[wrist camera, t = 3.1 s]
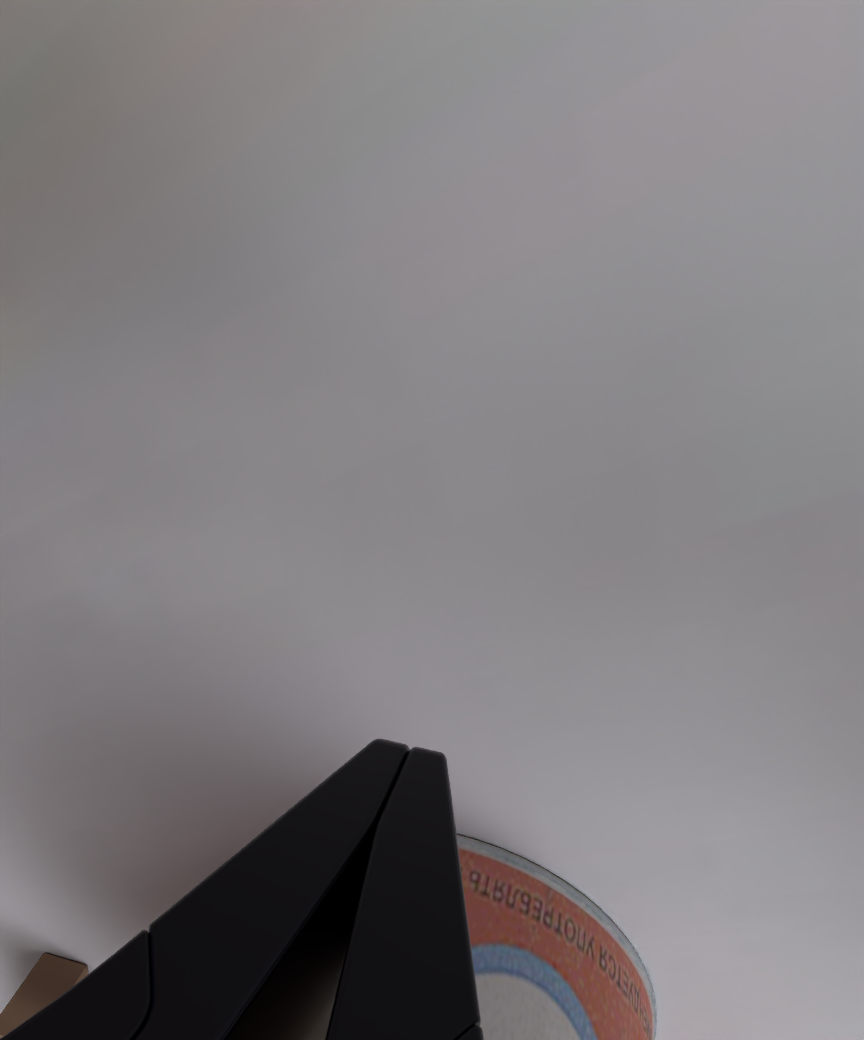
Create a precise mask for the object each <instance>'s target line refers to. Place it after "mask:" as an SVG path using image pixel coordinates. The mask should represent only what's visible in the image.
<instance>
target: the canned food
mask: <svg viewBox="0 0 864 1040" xmlns="http://www.w3.org/2000/svg"><path fill="white" fill-rule="evenodd" d="M456 836H457V843H458V851H459V858H460V866H461V874H462V881H463V889H464V896H465V904H466V911H467V919H468V926H469V934H470V942H471V949H472V957H473V964H474V972H475V979H476V987H477V994H478V1002H479V1010H480V1017H481V1023H480V1027H481V1028H482V1030H483V1037H484V1040H654V1039H655V1034H656V1022H657V1020H656V1002H655V996H654V992H653V988H652V984H651V981H650V979H649V976H648V974H647V971H646V969H645V967H644V965H643V963H642V961H641V959H640V957H639V956H638V954H637V952H636V951H635V949H634V948H633V946H632V945H631V944H630V942H629V941H628V939H627V938H626V937H625V935H624V934H623V933H622V932H621V931H620V930H619V928H618V927H617V926H616V925H615V924H614V923H613V922H612V921H611V920H610V919H609V918H608V917H607V916H606V915H605V914H604V913H603V912H602V911H601V910H600V909H599V908H598V907H597V906H596V905H595V904H593V903H592V902H591V901H590V900H589V899H587V898H586V897H585V896H584V895H583V894H581V893H580V892H578V891H577V890H576V889H574V888H573V887H571V886H570V885H569V884H567V883H566V882H564V881H563V880H561V879H560V878H558V877H556V876H555V875H553V874H551V873H550V872H548V871H546V870H545V869H543V868H541V867H539V866H537V865H535V864H533V863H531V862H530V861H528V860H526V859H524V858H522V857H519V856H517V855H515V854H512V853H510V852H508V851H505V850H503V849H501V848H498V847H495V846H492V845H490V844H487V843H484V842H481V841H478V840H475V839H471V838H468V837H464V836H460V835H457V834H456Z"/></svg>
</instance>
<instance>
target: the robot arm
mask: <svg viewBox="0 0 864 1040" xmlns="http://www.w3.org/2000/svg"><path fill="white" fill-rule="evenodd" d="M480 1023H481V1017H480V1010H479V1002H478V994H477V987H476V979H475V972H474V964H473V957H472V949H471V942H470V934H469V926H468V919H467V911H466V904H465V896H464V889H463V881H462V874H461V866H460V858H459V851H458V843H457V836H456V828H455V821H454V813H453V806H452V798H451V790H450V783H449V775H448V768H447V760H446V757H445V755H444V754H443V753H441V752H437V751H433V750H428V749H424V748H419V747H414V748H412V749H411V750H410V749H409V747H408V746H407V745H405V744H402V743H397V742H393V741H389V740H384V739H376V740H373V741H372V742H371V743H370V744H368V745H367V746H366V747H365V748H363V749H362V750H361V751H360V752H359V753H357V754H356V755H355V756H354V757H353V758H351V759H350V760H349V761H348V762H347V763H345V764H344V765H343V766H342V767H340V768H339V769H338V770H337V771H336V772H334V773H333V774H332V775H331V776H330V777H328V778H327V779H326V780H325V781H324V782H322V783H321V784H320V785H319V786H317V787H316V788H315V789H314V790H313V791H311V792H310V793H309V794H308V795H307V796H305V797H304V798H303V799H302V800H301V801H299V802H298V803H297V804H296V805H294V806H293V807H292V808H291V809H290V810H288V811H287V812H286V813H285V814H284V815H282V816H281V817H280V818H279V819H278V820H276V821H275V822H274V823H273V824H271V825H270V826H269V827H268V828H267V829H265V830H264V831H263V832H262V833H261V834H259V835H258V836H257V837H256V838H255V839H253V840H252V841H251V842H250V843H248V844H247V845H246V846H245V847H244V848H242V849H241V850H240V851H239V852H238V853H236V854H235V855H234V856H233V857H231V858H230V859H229V860H228V861H227V862H225V863H224V864H223V865H222V866H221V867H219V868H218V869H217V870H216V871H215V872H213V873H212V874H211V875H210V876H208V877H207V878H206V879H205V880H204V881H202V882H201V883H200V884H199V885H198V886H196V887H195V888H194V889H193V890H192V891H190V892H189V893H188V894H187V895H185V896H184V897H183V898H182V899H181V900H179V901H178V902H177V903H176V904H175V905H173V906H172V907H171V908H170V909H169V910H167V911H166V912H165V913H164V914H162V915H161V916H160V917H159V918H158V919H156V920H155V921H154V922H153V923H152V924H150V926H149V932H148V931H146V930H143V931H141V932H140V933H139V934H138V935H136V936H135V937H134V938H133V939H132V940H131V941H129V942H128V943H127V944H126V945H124V946H123V947H122V948H121V949H120V950H118V951H117V952H116V953H115V954H114V955H112V956H111V957H110V958H108V959H107V960H106V961H105V962H103V963H102V964H101V965H100V966H98V967H97V968H96V969H94V970H93V971H92V972H91V973H89V974H88V975H87V976H86V977H84V978H83V979H82V980H80V981H79V982H78V983H77V984H75V985H74V986H73V987H72V988H70V989H69V990H68V991H66V992H65V993H64V994H62V995H61V996H59V997H58V998H57V999H55V1000H54V1001H52V1002H51V1003H50V1004H48V1005H47V1006H45V1007H44V1008H43V1009H41V1010H40V1011H38V1012H37V1013H36V1014H34V1015H33V1016H31V1017H30V1018H29V1019H27V1020H26V1021H24V1022H23V1023H22V1024H20V1025H19V1026H17V1027H16V1028H15V1029H13V1030H12V1031H10V1032H9V1033H7V1034H6V1035H4V1036H3V1037H2V1038H0V1040H484V1037H483V1030H482V1028H481V1027H480Z"/></svg>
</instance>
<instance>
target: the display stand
mask: <svg viewBox="0 0 864 1040" xmlns="http://www.w3.org/2000/svg"><path fill="white" fill-rule="evenodd" d="M87 975H88V969H87V965H83V964H80V963H77V962H73V961H70V960H67V959H63V958H60V957H56V956H53V955H50V954H46V953H44V954H43V955H42V957H41V958H40V959H39V961H38V962H37V964H36V965H35V966H34V968H33V969H32V971H31V972H30V973H29V975H28V976H27V978H26V979H25V980H24V982H23V983H22V985H21V986H20V988H19V989H18V990H17V992H16V993H15V995H14V996H13V997H12V999H11V1000H10V1002H9V1003H8V1004H7V1006H6V1007H5V1009H4V1010H3V1011H2V1013H1V1014H0V1038H2V1037H3V1036H4V1035H6V1034H7V1033H9V1032H10V1031H12V1030H13V1029H15V1028H16V1027H17V1026H19V1025H20V1024H22V1023H23V1022H24V1021H26V1020H27V1019H29V1018H30V1017H31V1016H33V1015H34V1014H36V1013H37V1012H38V1011H40V1010H41V1009H43V1008H44V1007H45V1006H47V1005H48V1004H50V1003H51V1002H52V1001H54V1000H55V999H57V998H58V997H59V996H61V995H62V994H64V993H65V992H66V991H68V990H69V989H70V988H72V987H73V986H74V985H75V984H77V983H78V982H79V981H80V980H82V979H83V978H84V977H86V976H87Z"/></svg>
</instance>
